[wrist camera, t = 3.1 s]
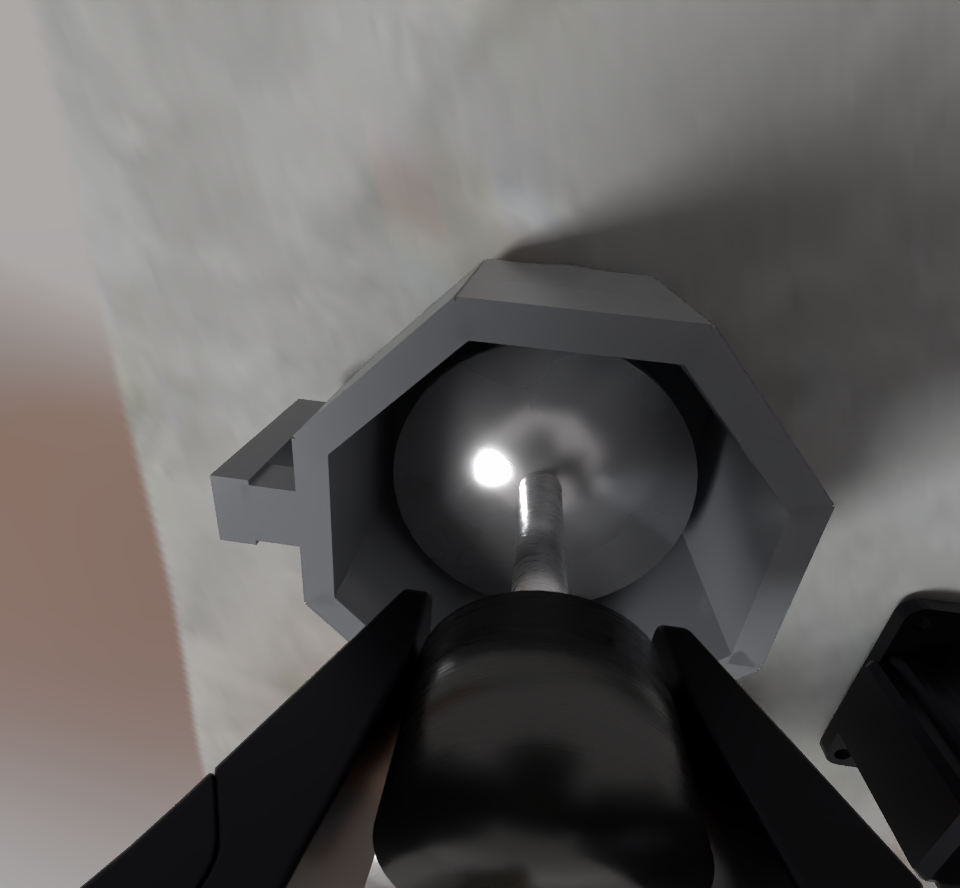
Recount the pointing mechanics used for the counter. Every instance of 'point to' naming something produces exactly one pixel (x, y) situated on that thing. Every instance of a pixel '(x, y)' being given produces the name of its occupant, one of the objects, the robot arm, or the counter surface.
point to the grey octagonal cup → (563, 327)
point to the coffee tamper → (542, 633)
